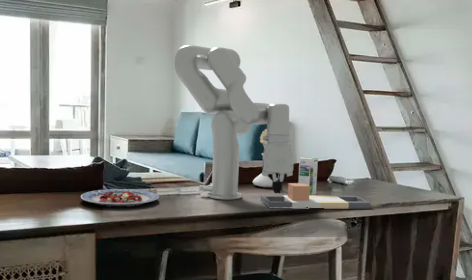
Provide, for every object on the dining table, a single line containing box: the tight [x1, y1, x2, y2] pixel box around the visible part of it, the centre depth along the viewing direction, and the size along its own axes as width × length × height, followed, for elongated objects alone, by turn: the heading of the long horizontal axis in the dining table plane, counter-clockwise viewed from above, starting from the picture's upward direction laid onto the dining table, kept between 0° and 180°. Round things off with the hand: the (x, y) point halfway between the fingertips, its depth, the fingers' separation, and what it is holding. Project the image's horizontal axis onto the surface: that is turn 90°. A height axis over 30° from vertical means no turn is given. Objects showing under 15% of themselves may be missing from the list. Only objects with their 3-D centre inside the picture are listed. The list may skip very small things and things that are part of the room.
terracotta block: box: [287, 182, 310, 201], centre depth 184 cm, size 6×6×5 cm
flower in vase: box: [252, 128, 278, 188], centre depth 218 cm, size 13×11×25 cm
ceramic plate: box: [80, 188, 160, 207], centre depth 178 cm, size 26×26×3 cm
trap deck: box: [260, 194, 372, 210], centre depth 185 cm, size 36×13×2 cm, turn 100°
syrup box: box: [297, 156, 319, 195], centre depth 204 cm, size 6×6×14 cm
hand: (277, 192), depth 182 cm, fingers closed
